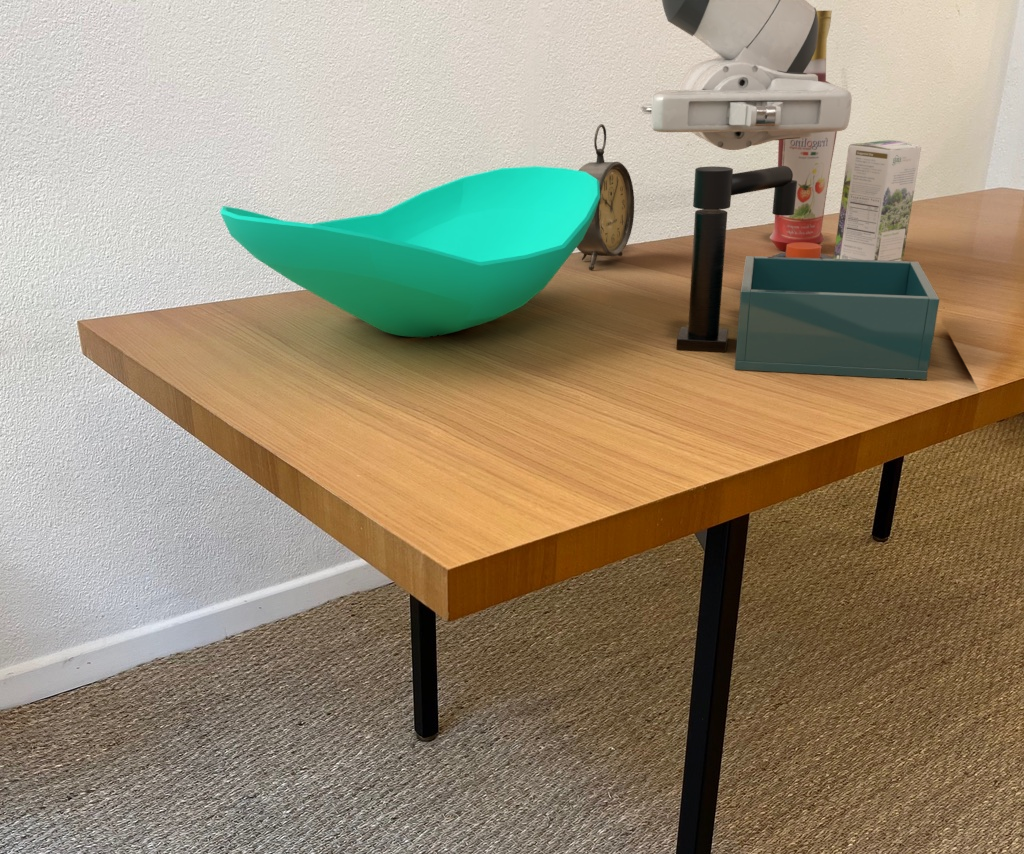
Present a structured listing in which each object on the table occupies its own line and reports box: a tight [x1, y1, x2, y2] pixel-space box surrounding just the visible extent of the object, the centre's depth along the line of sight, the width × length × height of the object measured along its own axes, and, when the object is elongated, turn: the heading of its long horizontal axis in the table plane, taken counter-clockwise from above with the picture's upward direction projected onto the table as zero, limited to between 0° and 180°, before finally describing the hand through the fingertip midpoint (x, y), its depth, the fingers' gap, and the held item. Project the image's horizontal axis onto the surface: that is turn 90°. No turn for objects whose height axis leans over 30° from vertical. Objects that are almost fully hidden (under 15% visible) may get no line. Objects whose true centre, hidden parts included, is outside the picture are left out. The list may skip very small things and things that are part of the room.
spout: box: [692, 165, 797, 216], centre depth 95 cm, size 14×3×5 cm, turn 132°
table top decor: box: [220, 165, 600, 338], centre depth 101 cm, size 40×28×13 cm
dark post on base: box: [676, 209, 729, 353], centre depth 95 cm, size 4×4×12 cm
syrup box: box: [833, 139, 922, 261], centre depth 120 cm, size 6×6×14 cm
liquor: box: [769, 10, 838, 252], centre depth 131 cm, size 7×7×28 cm
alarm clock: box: [576, 123, 635, 271], centre depth 127 cm, size 11×5×16 cm, turn 151°
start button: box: [785, 242, 822, 258], centre depth 112 cm, size 4×4×2 cm
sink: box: [734, 255, 940, 380], centre depth 93 cm, size 16×15×7 cm
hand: (766, 116), depth 101 cm, fingers closed
